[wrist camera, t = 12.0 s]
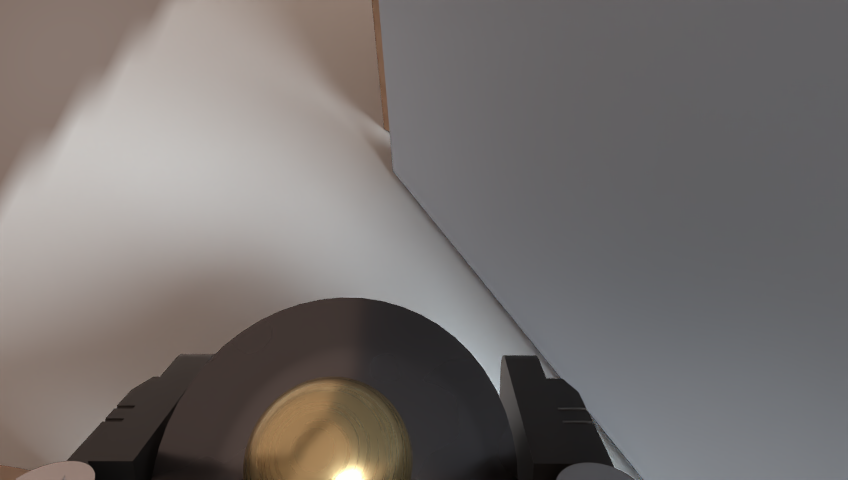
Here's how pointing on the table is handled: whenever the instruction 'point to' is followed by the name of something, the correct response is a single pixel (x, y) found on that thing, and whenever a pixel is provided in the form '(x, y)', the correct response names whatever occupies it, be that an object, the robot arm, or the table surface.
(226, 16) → the table surface
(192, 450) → the pepper mill
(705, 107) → the cabinet door
